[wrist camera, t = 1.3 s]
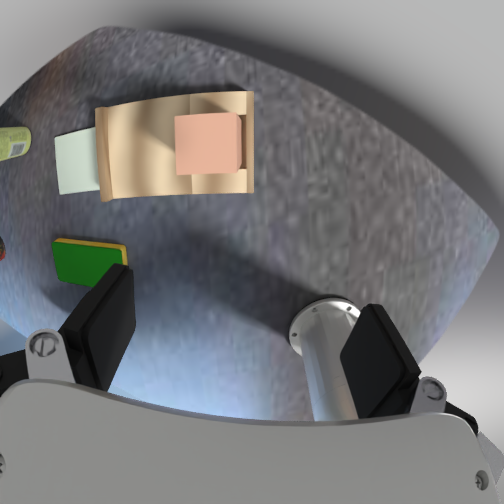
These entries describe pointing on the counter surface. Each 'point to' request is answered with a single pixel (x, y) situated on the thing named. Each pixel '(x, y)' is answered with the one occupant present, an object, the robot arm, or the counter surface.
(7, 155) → the tube
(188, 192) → the open box
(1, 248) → the deodorant
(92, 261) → the dish sponge
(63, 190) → the mat
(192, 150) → the block
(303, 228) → the counter surface
